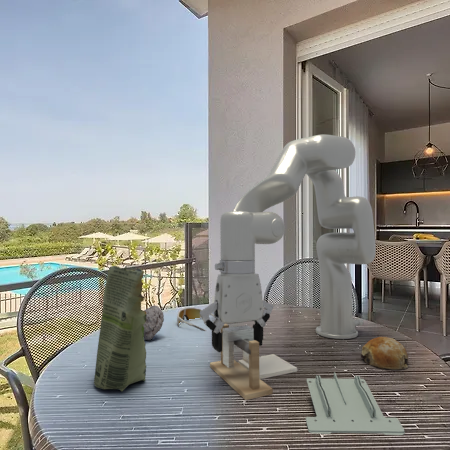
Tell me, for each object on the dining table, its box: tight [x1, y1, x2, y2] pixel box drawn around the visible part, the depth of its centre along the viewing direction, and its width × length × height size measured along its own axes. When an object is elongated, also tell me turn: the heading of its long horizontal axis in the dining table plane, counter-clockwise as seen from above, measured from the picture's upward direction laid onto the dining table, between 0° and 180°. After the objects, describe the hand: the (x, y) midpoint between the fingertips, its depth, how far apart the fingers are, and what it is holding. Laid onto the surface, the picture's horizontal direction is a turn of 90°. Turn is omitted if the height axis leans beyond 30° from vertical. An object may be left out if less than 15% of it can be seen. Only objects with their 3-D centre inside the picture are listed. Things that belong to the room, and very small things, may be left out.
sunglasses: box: [176, 306, 215, 332], centre depth 120 cm, size 14×15×5 cm
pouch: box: [93, 264, 147, 392], centre depth 73 cm, size 11×12×25 cm
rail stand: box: [209, 324, 274, 401], centre depth 74 cm, size 18×6×10 cm, turn 25°
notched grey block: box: [223, 324, 254, 368], centre depth 74 cm, size 6×3×8 cm, turn 115°
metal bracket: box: [305, 372, 406, 436], centre depth 60 cm, size 14×6×15 cm
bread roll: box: [360, 336, 409, 371], centre depth 83 cm, size 10×10×8 cm
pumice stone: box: [143, 305, 165, 341], centre depth 103 cm, size 10×8×10 cm
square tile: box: [237, 353, 298, 380], centre depth 81 cm, size 10×10×1 cm
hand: (238, 347), depth 74 cm, fingers open, 9 cm apart
